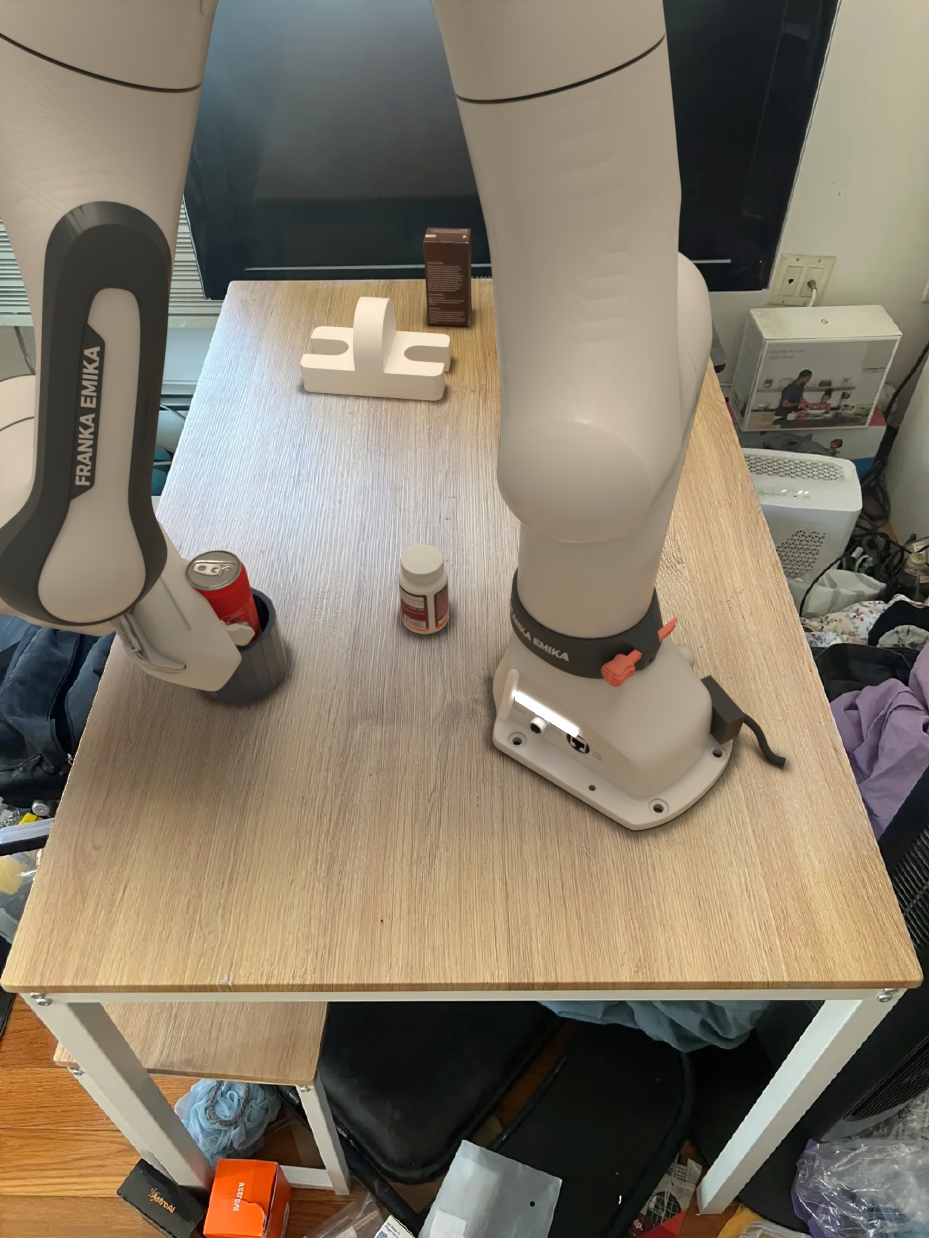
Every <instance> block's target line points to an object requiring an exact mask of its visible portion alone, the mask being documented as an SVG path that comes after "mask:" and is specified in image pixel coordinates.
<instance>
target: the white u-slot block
mask: <svg viewBox="0 0 929 1238" xmlns="http://www.w3.org/2000/svg"><path fill="white" fill-rule="evenodd" d="M450 337H451V336H450V335H448V334H446V333H434V332H420V331H419V332H418V331H407V330H406V331H404V330H403V331H402V330H398V329H397V317H396V307H395V304H394V300H393V299H392V298H390V297H378V296H377V297H376V296H375V297H374V296H360V297H359V299H358V300H357V303H356V307H355V312H354V317H353V327H345V326H343V327H341V326H330V325H329V326H327V325H322V326H318V327H315V328H314V329H313V331H312V333H311V336H310V343H311V353H303V354H302V357H301V359H300V362H299V364H300V369H301V371H300V372H301V377H302V383H303V389H304V390H305V391H306V392H309V393H319V394H320V393H321V394H334V395H348V396H349V395H350V396H361V397H362V396H363V397H375V398H376V397H377V398H390V399H404V400H417V401H418V400H419V401H431V402H432V401H433V402H435V401H439V400H441V399H442V398H443V397H444V394H445V389H446V378H445V377H446V376H445V372H449V371H450V367H451V338H450Z"/></svg>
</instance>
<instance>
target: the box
mask: <svg viewBox="0 0 929 1238" xmlns="http://www.w3.org/2000/svg"><path fill="white" fill-rule="evenodd" d="M422 242H423V244H422V245H423V262H424V276H425V277H424V279H425V281H424V282H425V299H426V321H427V325H437V326H461V327H462V326H463V327H469V326H470V323H471V316H472V305H473V304H472V229H471V228H451V227H446V228H445V227H427V228H426V231H425V235H424V238H423V241H422Z"/></svg>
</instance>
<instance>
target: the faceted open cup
mask: <svg viewBox="0 0 929 1238" xmlns="http://www.w3.org/2000/svg"><path fill="white" fill-rule="evenodd" d="M250 588H251V591H252V595H253V599H254V603H255V607H256V610H257V614H258V618H259V622H260V626H261V629H262V634H261V635H260V636H259V637H258V638H257V639H256V640H254V641H253V642H251V643H249V644H248V645H246V646H244V647H241V648H238V651H239V652H240V654H241V662H240V664H239V665H238V667H237V669H236V670H235V672H234V673H233V675H232V676H231V677H230V679H229V680H228V681H227V682H226V684H225V685H224V686H223V687H222V688H220V689H219V690H217V691H206V690H203V692H205V693H206V695H208V696H209V697H211V698H213V699H215V700H217V701H220V702H223V703H227V704H243V703H249V702H251V701H252V702H253V701H255V700H258V699H260V698H262V697H264V696H266V695H268V694H270V692H272V691H273V690H274V689H275V688H276V687H277V686H278V685H279V684H280V683H281V681H282V679H283V678H284V676H285V673H286V671H287V665H288V660H287V651H286V648H285V644H284V640H283V636H282V631H281V628H280V623H279V618H278V615H277V611H276V608H275V606H274V602H273V600H272V599H270V597H268V596H267V594H265V592H263V591H261V590H258V589H256V588H254V587H251V586H250Z"/></svg>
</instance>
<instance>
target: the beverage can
mask: <svg viewBox="0 0 929 1238" xmlns="http://www.w3.org/2000/svg"><path fill="white" fill-rule="evenodd" d="M189 561H190V562H189V563H188V565H187V567H186V570H185V578H186V580H187V582H188V583H189V584H190V585H191V586H192V587H194V588H195V589H196V590H197V591H198V592H199V593H201V594H202V595H203V596H204V597H205V598H206V599H207V600H208V602H209V603H210V605H211V607H212V608H213V610H214V612H215V613H216V615H217V617H218V618H219V620H222V621H224V622H225V624H226V625H230V623H231V621H232V620H233V619H234V618H238V619H241V620H247V621H248V623H249V624H250V626H251V627H252V629H253V630H254V632H255V634H254V636H253V637H252V639H251V640H250V642H249V643H251V642H253V641H254V640H256V639H257V638H258V637H259V636H260V635H261V634H262V629H261V626H260V622H259V618H258V614H257V610H256V607H255V603H254V599H253V595H252V591H251V588H252V587H251V584H250V580H249V577H248V576H249V575H248V573H247V569H246V566H245V564H244V562H242V561H241V560H240V558H239V556H238V555H236V554H235V553H233V552H231V551H228V550H224V549H211V550H207V551H204V552H201V553H199V554H196V556H194V557H193V558H192V559H191V560H189ZM188 579H189V580H188ZM189 581H190V582H191V583H190V582H189ZM250 587H251V588H250ZM249 643H248V644H249ZM248 644H247V645H248ZM235 646H236V648H237V649H238V648H241V647H244V646H240V645H235ZM245 646H246V645H245Z"/></svg>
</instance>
